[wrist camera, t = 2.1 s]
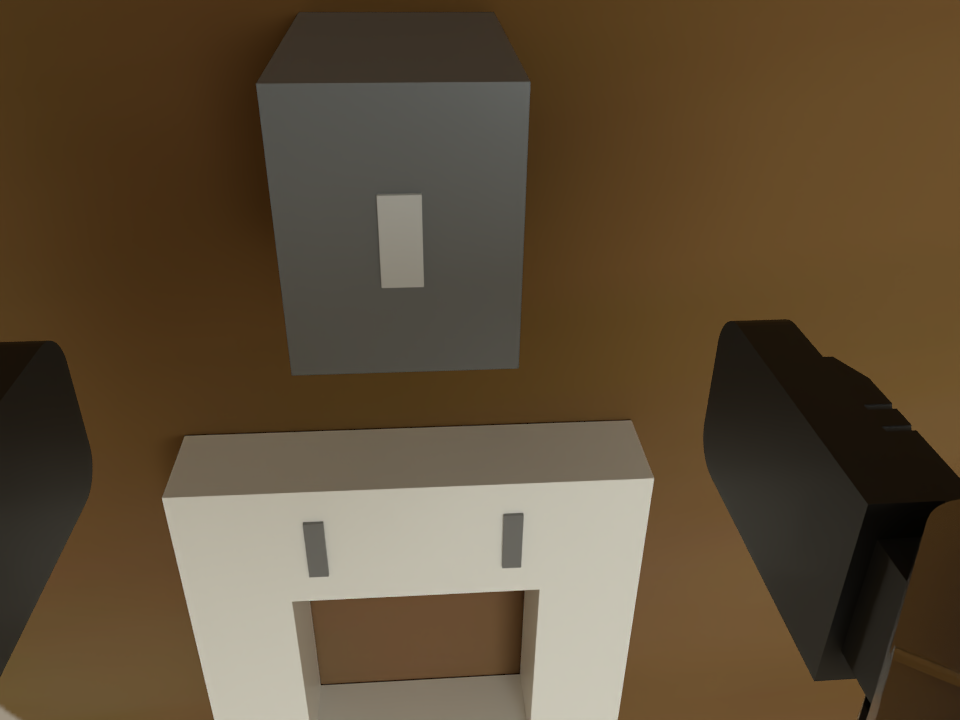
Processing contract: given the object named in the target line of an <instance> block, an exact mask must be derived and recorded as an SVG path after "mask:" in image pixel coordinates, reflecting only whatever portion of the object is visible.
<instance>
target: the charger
mask: <svg viewBox="0 0 960 720" xmlns="http://www.w3.org/2000/svg"><path fill="white" fill-rule="evenodd" d="M256 88H257V96H258V104H259V112H260V120H261V129H262V137H263V145H264V153H265V161H266V169H267V178H268V186H269V194H270V202H271V210H272V218H273V227H274V235H275V243H276V251H277V259H278V267H279V276H280V284H281V292H282V300H283V308H284V316H285V325H286V333H287V341H288V349H289V357H290V365H291V374H292V375H323V374H355V373H387V372H419V371H451V370H483V369H515V368H519V347H520V323H521V299H522V274H523V250H524V226H525V201H526V177H527V153H528V128H529V104H530V80H529V78H528V76H527V74H526V72H525V70H524V69H523V67H522V65H521V63H520V61H519V59H518V57H517V55H516V53H515V51H514V50H513V48H512V46H511V44H510V42H509V40H508V38H507V36H506V34H505V32H504V31H503V29H502V27H501V25H500V23H499V21H498V19H497V17H496V15H495V13H494V12H299V13H298V15H297V16H296V18H295V20H294V21H293V23H292V25H291V26H290V28H289V30H288V31H287V33H286V35H285V36H284V38H283V40H282V41H281V43H280V45H279V46H278V48H277V50H276V51H275V53H274V55H273V56H272V58H271V60H270V61H269V63H268V65H267V66H266V68H265V70H264V71H263V73H262V75H261V76H260V78H259V80H258V81H257V83H256Z"/></svg>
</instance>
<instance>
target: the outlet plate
mask: <svg viewBox="0 0 960 720" xmlns="http://www.w3.org/2000/svg"><path fill="white" fill-rule="evenodd" d="M653 483H654V477H653V474H652V472H651V469H650V466H649V464H648V461H647V459H646V456H645V454H644V451H643V449H642V446H641V443H640V441H639V438H638V436H637V433H636V431H635V428H634V426H633V423H632V421H631V420H624V421H596V422H567V423H539V424H510V425H482V426H453V427H425V428H396V429H368V430H339V431H311V432H282V433H254V434H225V435H196V436H184V439H183V442H182V445H181V447H180V450H179V453H178V455H177V458H176V461H175V464H174V466H173V469H172V472H171V475H170V477H169V480H168V483H167V486H166V488H165V491H164V494H163V496H162V501H163V505H164V509H165V513H166V518H167V522H168V526H169V530H170V534H171V539H172V543H173V547H174V551H175V556H176V560H177V564H178V568H179V573H180V577H181V581H182V585H183V589H184V594H185V598H186V602H187V606H188V611H189V615H190V619H191V623H192V627H193V632H194V636H195V640H196V644H197V649H198V653H199V657H200V661H201V666H202V670H203V674H204V678H205V682H206V687H207V691H208V695H209V699H210V704H211V708H212V712H213V716H214V720H618V714H619V707H620V701H621V694H622V688H623V681H624V674H625V668H626V661H627V655H628V648H629V641H630V635H631V628H632V622H633V615H634V608H635V602H636V595H637V588H638V582H639V575H640V569H641V562H642V555H643V549H644V542H645V536H646V529H647V522H648V516H649V509H650V503H651V496H652V489H653ZM519 590H525V592H524V610H523V628H522V647H521V665H520V674H515V675H497V676H479V677H461V678H443V679H426V680H408V681H390V682H372V683H354V684H336V685H321V682H320V674H319V667H318V659H317V651H316V643H315V636H314V628H313V620H312V613H311V605H310V601H315V600H335V599H355V598H376V597H396V596H417V595H437V594H457V593H478V592H498V591H519Z"/></svg>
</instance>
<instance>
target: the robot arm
mask: <svg viewBox="0 0 960 720" xmlns="http://www.w3.org/2000/svg"><path fill="white" fill-rule="evenodd" d="M703 442H704V453H705V459H706V464H707V467H708V470H709V473H710V475H711V478H712V480H713V482H714V484H715V485H716V487H717V489H718V491H719V493H720V495H721V497H722V499H723V501H724V503H725V505H726V507H727V509H728V511H729V513H730V515H731V517H732V519H733V521H734V523H735V525H736V527H737V529H738V531H739V533H740V535H741V537H742V539H743V541H744V543H745V545H746V547H747V549H748V551H749V553H750V555H751V557H752V559H753V561H754V563H755V565H756V567H757V569H758V571H759V573H760V575H761V577H762V579H763V581H764V583H765V585H766V587H767V588H768V590H769V592H770V594H771V596H772V598H773V600H774V602H775V604H776V606H777V608H778V610H779V612H780V614H781V616H782V618H783V620H784V622H785V624H786V626H787V628H788V630H789V632H790V634H791V636H792V638H793V640H794V642H795V644H796V646H797V648H798V650H799V652H800V654H801V656H802V658H803V660H804V662H805V664H806V666H807V668H808V670H809V672H810V674H811V676H812V678H813V680H814V681H825V680H841V679H857V680H858V682H859V684H860V686H861V688H862V689H863V691H864V693H865V698H864V700H863V703H862V706H861V709H860V712H859V715H858V718H857V720H960V478H959V477H958V476H957V475H956V474H955V473H954V471H953V470H952V469H951V468H950V467H949V466H948V465H947V464H946V463H945V461H944V460H943V459H942V458H941V457H940V456H939V455H938V454H937V453H936V452H935V450H934V449H933V448H932V447H931V446H930V445H929V444H928V443H927V442H926V441H925V439H924V438H923V437H922V436H921V435H920V434H919V433H918V432H917V431H916V430H915V431H912V430H911V424H910V423H909V422H908V421H907V420H906V418H905V417H904V416H903V415H902V414H901V413H900V412H899V411H898V410H897V409H892V403H891V402H890V401H889V400H888V399H887V398H886V396H885V395H884V394H883V393H882V392H881V391H880V390H879V389H878V388H877V387H876V385H875V384H874V383H873V382H872V381H871V380H870V379H869V378H868V377H866V376H864V375H863V374H861V373H859V372H858V371H856V370H854V369H853V368H851V367H849V366H848V365H846V364H844V363H842V362H841V361H839V360H837V359H836V358H834V357H822V355H821V354H820V353H819V352H818V351H817V349H816V348H815V347H814V346H813V345H812V344H811V342H810V341H809V340H808V339H807V338H806V337H805V335H804V334H803V333H802V332H801V331H800V330H799V328H798V327H797V326H796V325H795V324H794V323H793V322H792V321H790V320H786V319H784V320H752V321H729V322H727V323H726V324H725V325H724V327H723V328H722V331H721V333H720V336H719V341H718V346H717V352H716V358H715V364H714V370H713V376H712V382H711V388H710V393H709V399H708V405H707V411H706V417H705V423H704V434H703ZM91 482H92V455H91V449H90V445H89V441H88V438H87V434H86V430H85V427H84V423H83V419H82V416H81V412H80V409H79V405H78V401H77V398H76V394H75V390H74V387H73V383H72V379H71V376H70V372H69V368H68V365H67V361H66V358H65V356H64V353H63V351H62V350H61V348H60V347H59V345H58V344H57V343H55V342H53V341H27V342H0V676H1V674H2V672H3V670H4V668H5V666H6V664H7V662H8V660H9V658H10V656H11V654H12V652H13V650H14V648H15V646H16V644H17V642H18V640H19V638H20V636H21V634H22V632H23V630H24V627H25V625H26V623H27V621H28V619H29V617H30V615H31V613H32V611H33V609H34V607H35V605H36V603H37V601H38V599H39V597H40V595H41V593H42V591H43V589H44V587H45V585H46V583H47V581H48V579H49V577H50V575H51V573H52V571H53V568H54V566H55V564H56V562H57V560H58V558H59V556H60V554H61V552H62V550H63V548H64V546H65V544H66V542H67V540H68V538H69V536H70V534H71V532H72V530H73V528H74V526H75V524H76V522H77V520H78V518H79V516H80V514H81V512H82V509H83V507H84V505H85V503H86V501H87V499H88V496H89V493H90V488H91Z"/></svg>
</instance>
